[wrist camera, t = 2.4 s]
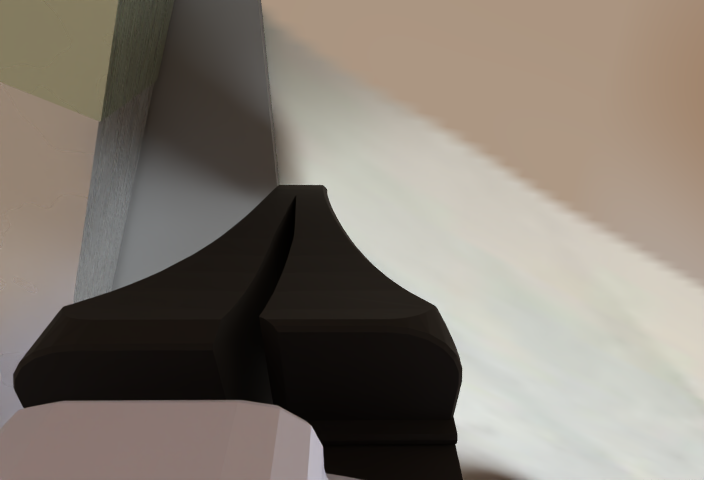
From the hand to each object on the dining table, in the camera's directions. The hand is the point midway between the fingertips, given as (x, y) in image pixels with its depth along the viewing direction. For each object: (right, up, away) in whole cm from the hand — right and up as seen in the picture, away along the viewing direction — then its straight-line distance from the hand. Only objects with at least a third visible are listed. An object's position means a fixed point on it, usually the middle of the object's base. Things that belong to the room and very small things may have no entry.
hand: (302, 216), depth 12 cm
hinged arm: (-8, -1, +2) cm, 9 cm away
